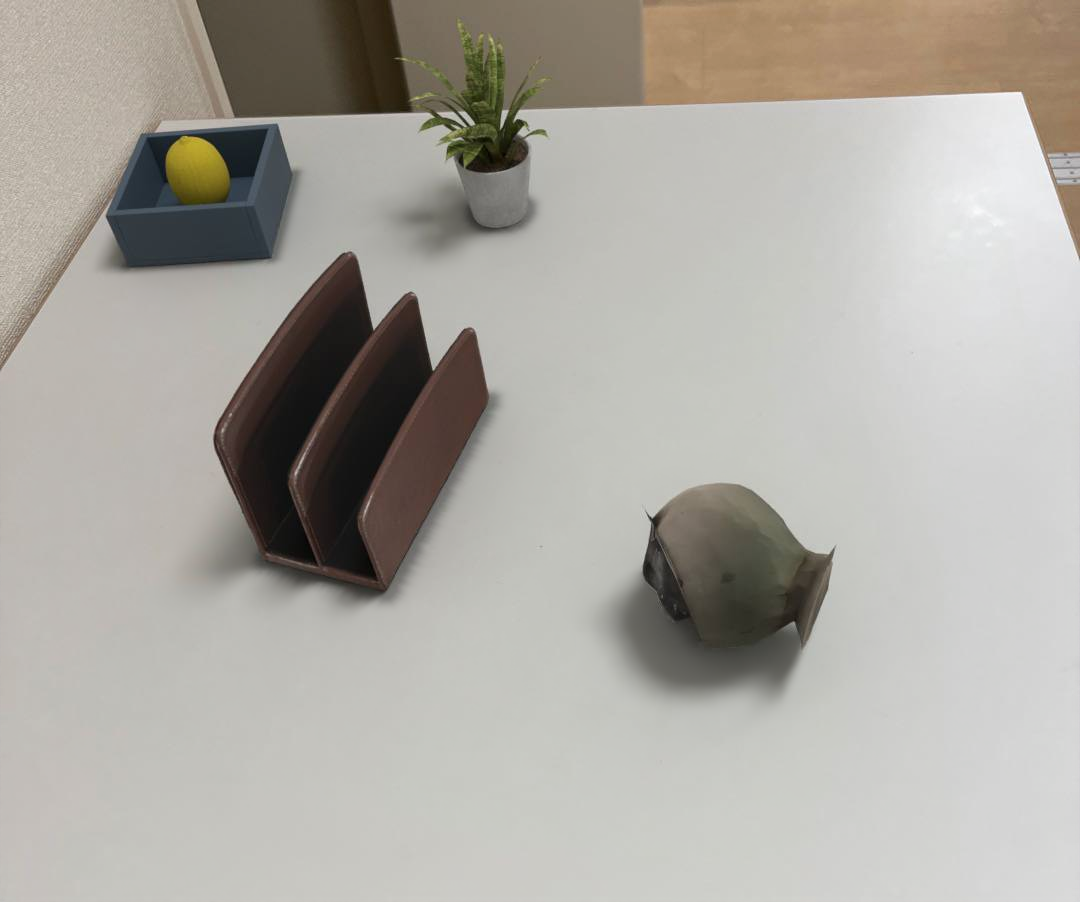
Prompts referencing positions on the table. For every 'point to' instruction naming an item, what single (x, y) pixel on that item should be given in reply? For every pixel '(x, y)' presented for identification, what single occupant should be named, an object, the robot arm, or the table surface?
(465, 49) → the house plant
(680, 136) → the table surface
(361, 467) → the letter holder
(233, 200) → the bin
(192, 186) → the lemon
